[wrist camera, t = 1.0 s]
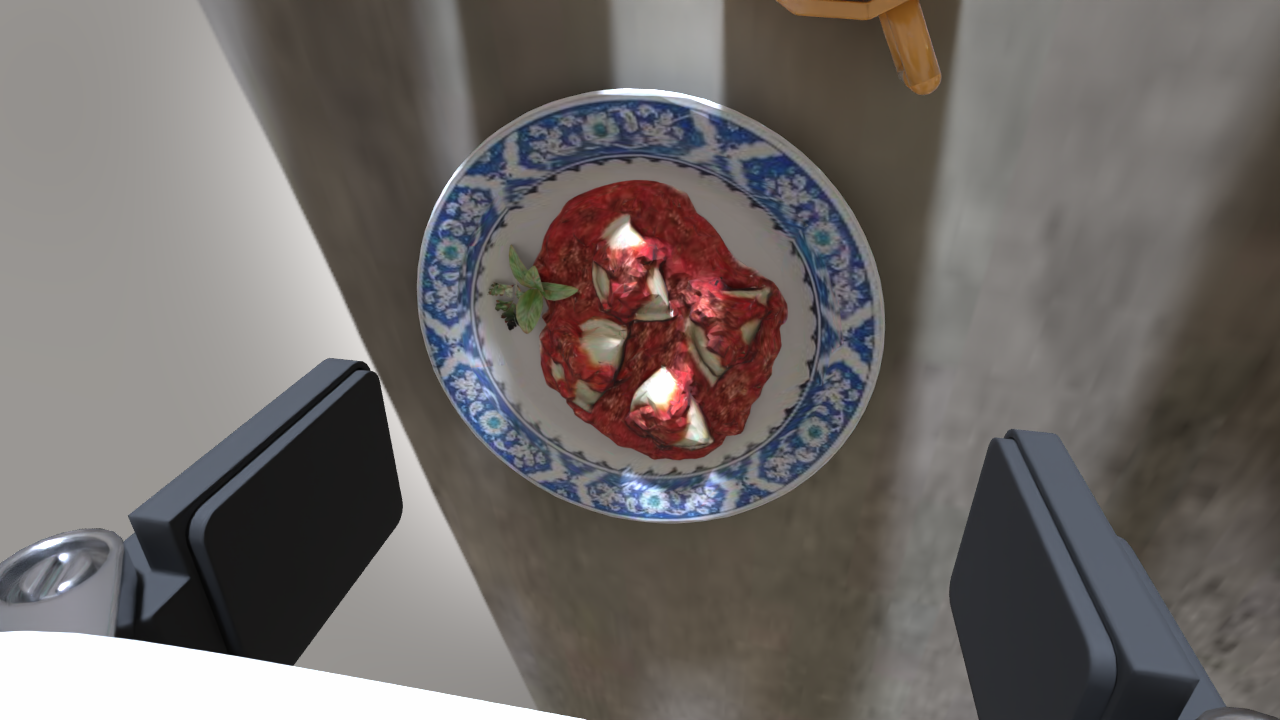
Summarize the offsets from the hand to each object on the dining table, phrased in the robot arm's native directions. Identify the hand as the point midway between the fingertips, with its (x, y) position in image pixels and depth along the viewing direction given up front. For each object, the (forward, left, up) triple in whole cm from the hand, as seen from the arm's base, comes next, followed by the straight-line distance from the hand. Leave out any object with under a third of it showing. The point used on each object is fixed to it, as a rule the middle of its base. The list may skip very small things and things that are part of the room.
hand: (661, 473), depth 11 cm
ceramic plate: (+7, -9, -28) cm, 30 cm away
